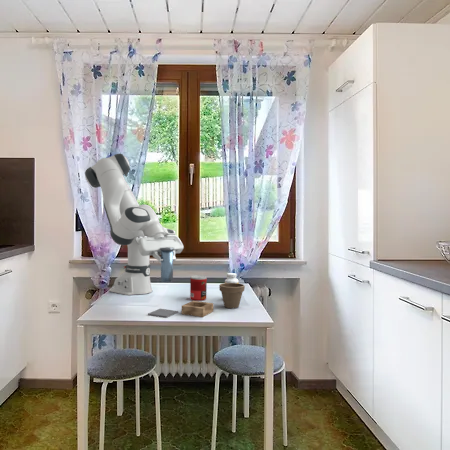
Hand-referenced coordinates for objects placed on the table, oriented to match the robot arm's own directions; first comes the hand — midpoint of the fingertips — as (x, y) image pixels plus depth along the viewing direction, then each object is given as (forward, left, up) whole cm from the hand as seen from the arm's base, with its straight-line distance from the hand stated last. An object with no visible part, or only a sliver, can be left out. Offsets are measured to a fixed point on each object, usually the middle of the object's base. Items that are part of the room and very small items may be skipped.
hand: (167, 260), depth 166 cm
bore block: (+10, +7, -22) cm, 26 cm away
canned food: (-1, +29, -22) cm, 37 cm away
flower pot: (+19, +23, -22) cm, 38 cm away
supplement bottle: (+14, +35, -22) cm, 44 cm away
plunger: (0, 0, -8) cm, 8 cm away
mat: (-2, -1, -22) cm, 22 cm away
